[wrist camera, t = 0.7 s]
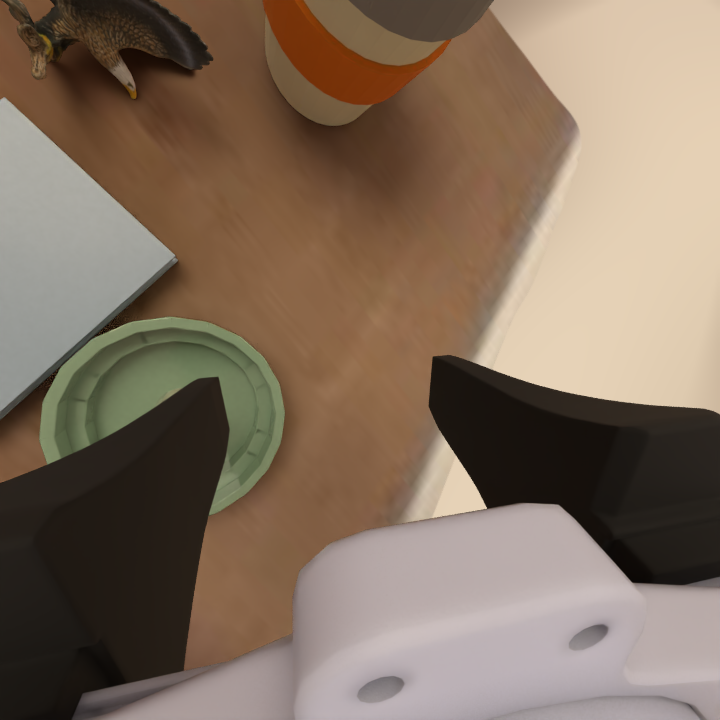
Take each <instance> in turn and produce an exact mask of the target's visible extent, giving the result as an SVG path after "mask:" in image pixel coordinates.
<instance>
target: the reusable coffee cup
mask: <svg viewBox="0 0 720 720" xmlns="http://www.w3.org/2000/svg"><path fill="white" fill-rule="evenodd" d="M493 1H494V0H263V4H264V10H265V12H266V20H265V53H266V58H267V63H268V67H269V70H270V73H271V75H272V78H273V80H274V82H275V84H276V86H277V87H278V89H279V91H280V92H281V94H282V95H283V96H284V98H285V99H286V100H287V102H288V103H289V104H290V105H291V106H292V107H293V108H294V109H295V110H297V111H298V112H299V113H301V114H302V115H303V116H305V117H306V118H308V119H310V120H312V121H314V122H316V123H319V124H323V125H327V126H340V125H344V124H348V123H350V122H352V121H354V120H355V119H357V118H358V117H359V116H360V115H361V114H362V113H364V112H365V111H366V110H367V109H368V108H369V107H370V106H372V105H373V104H376V103H380V102H382V101H384V100H386V99H388V98H390V97H392V96H393V95H394V94H395V93H397V92H398V91H399V90H400V89H401V88H403V87H404V86H405V85H406V84H407V83H409V82H410V81H411V80H412V79H413V78H415V77H416V76H417V75H418V74H419V73H421V72H422V71H423V70H424V69H425V68H427V67H428V66H429V65H430V64H431V63H432V62H434V61H435V60H436V59H437V58H438V57H439V56H440V55H441V54H442V53H443V52H444V50H445V49H446V47H447V46H448V44H449V42H450V41H451V39H452V38H454V37H456V36H458V35H460V34H463V33H465V32H466V31H467V30H469V29H470V28H471V27H472V26H473V25H474V24H475V23H476V22H477V21H478V20H479V19H480V18H481V17H482V15H483V14H484V13H485V11H486V10H487V9H488V7H489V6H490V5H491V3H492V2H493Z"/></svg>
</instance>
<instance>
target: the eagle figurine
mask: <svg viewBox="0 0 720 720" xmlns="http://www.w3.org/2000/svg"><path fill="white" fill-rule="evenodd" d="M2 1H3V2H5V3H6V4H7V5H9V11H10V13H11V15H12V16H13V17H14V18H15V19H16V20H18V21H19V23H20V24H21V25H18V26H17V31H18V34H19V36H20V37H21V39H22V40H23V41H24V42H25V43H26V44H27V46H28V48H29V51H30V56H31V60H32V65H33V67H32V68H31V73H32V76H33V77H34V78H35V79H37V80H40V79H43V78H46V65H47V64H48V63H49V62H50V61H52V62H58V61H59V60H60V58H61V56H62V53H63V51H64V50H65V49H66V48H67V47H68V46H69V45H72V44H74V43H75V42H83V43H84V45H85V46H86V47H87V48H88V50H89V51H90V52H91V54H92V55H93V56H94V57H95V58H96V59H97V60H98V61H99V63H100V64H101V65H103V66H104V67H105V68H106V69H108V70H109V71H110V72H111V73H112V74H113V75H114V76H115V77H116V78H117V79H118V80H119V81H120V82H121V83H122V84H123V85H124V86H125V88H126V89H127V90H128V92H129V93H130V96H131V98H132V99H135V98H136V96H137V94H136V87H135V83H134V80H133V77H132V75H131V73H130V71H129V70H128V68H127V66H126V65H125V63H124V62H123V60H122V58H121V56H120V54H119V53H118V51H119V50H121V49H124V48H136V49H139V50H142V51H145V52H147V53H149V54H151V55H154V56H156V57H160V58H169V59H172V60H173V61H175V62H177V63H178V64H180V65H181V66H183V67H185V68H187V69H189V70H192V69H198V70H201V69H202V68H203V67H202V65H209V61H213V57H212V55H211V54H210V53H209V52H207V51H206V50H207V49H208V46H207V45H206V44H205V43H204V42H203V41H202V40H201V38H200V36H199V35H198V34H197V33H195V32H193V31H192V28H191V26H189V25H188V24H187V23H185V22H183V21H181V20H180V18H179V17H178V16H177V15H174V14H173V13H171V12H170V10H169V9H167V8H165V7H163V6H161V4H160V3H159V2H156V1H153V0H51V2H52V3H53V4H54V5H55V7H53V8H52V9H51V11H50V12H49V13H48V14H47V16H44V17H43V18H42V19H41V20H40V21H37V22H35V25H34V23H33V21H32V19H31V17H30V15H29V13H28V11H27V9H26V7H25V5H24V4H23V3H22V2H21V1H18V0H2Z"/></svg>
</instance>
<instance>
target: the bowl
mask: <svg viewBox="0 0 720 720" xmlns="http://www.w3.org/2000/svg"><path fill="white" fill-rule="evenodd" d="M218 376H219V381H220V386H221V390H222V395H223V400H224V404H225V409H226V414H227V419H228V423H229V428H230V432H229V440H228V447H227V454H226V458H225V462H224V465H223V469H222V472H221V476H220V479H219V482H218V486H217V489H216V493H215V496H214V499H213V503H212V506H211V509H210V513H209V516H210V515H213V514H215V513H218V512H220V511H221V510H223V509H224V508H226V507H227V506H229V505H230V504H232V503H233V502H235V501H236V500H238V499H239V498H241V497H242V496H244V495H245V494H246V493H248V492H249V491H250V489H251V488H252V487H253V486H254V485H255V484H256V483H257V482H258V480H259V479H260V478H261V477H262V476H263V475H264V474H265V472H266V471H267V470H268V469H269V467H270V465H271V462H272V460H273V458H274V456H275V454H276V452H277V450H278V448H279V446H280V443H281V439H282V432H283V425H284V418H285V409H284V404H283V399H282V393H281V388H280V385H279V382H278V380H277V379H276V377H275V375H274V373H273V372H272V370H271V368H270V366H269V365H268V363H267V361H266V359H264V357H263V356H262V355H261V354H260V353H259V352H257V351H256V350H255V349H254V348H253V347H252V346H251V345H250V344H249V343H247V342H246V341H245V340H244V339H243V338H242V337H240V336H239V335H237V334H235V333H233V332H231V331H229V330H227V329H225V328H222V327H220V326H218V325H216V324H214V323H212V322H208V321H204V320H197V319H190V318H183V317H163V318H155V319H148V320H141V321H133V322H129V323H127V324H125V325H122V326H120V327H118V328H116V329H113V330H111V331H109V332H107V333H104V334H102V335H100V336H98V337H95V338H93V339H92V340H90V341H89V342H88V343H87V344H86V345H85V346H84V347H83V348H81V349H80V350H79V351H78V352H77V353H76V354H75V355H74V356H73V357H71V358H70V359H69V360H68V361H67V362H66V363H65V364H64V365H62V367H61V368H60V370H59V372H58V374H57V375H56V377H55V379H54V381H53V383H52V385H51V387H50V389H49V390H48V392H47V394H46V396H45V398H44V400H43V403H42V413H41V423H40V434H39V439H40V440H39V441H40V444H41V447H42V450H43V453H44V456H45V459H46V462H47V465H48V464H50V463H52V462H54V461H56V460H59V459H61V458H63V457H65V456H68V455H70V454H72V453H74V452H77V451H79V450H81V449H83V448H85V447H87V446H89V445H91V444H93V443H95V442H97V441H99V440H101V439H103V438H105V437H107V436H108V435H110V434H112V433H114V432H116V431H117V430H119V429H121V428H123V427H124V426H126V425H128V424H129V423H131V422H132V421H134V420H136V419H137V418H139V417H140V416H142V415H143V414H145V413H147V412H148V411H150V410H151V409H153V408H154V406H155V404H156V403H157V401H158V400H159V398H160V397H161V396H162V395H163V394H165V393H166V392H168V391H170V390H173V389H178V388H183V387H185V386H186V385H188V384H189V383H191V382H192V381H194V380H196V379H198V378H207V377H218Z"/></svg>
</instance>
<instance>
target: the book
mask: <svg viewBox="0 0 720 720" xmlns="http://www.w3.org/2000/svg"><path fill="white" fill-rule="evenodd" d="M175 257H176V256H175V255H174V254H173V253H172V252H171V251H170V250H169V249H168V248H167V247H166V246H165V245H163V244H162V243H161V242H160V241H159V240H158V239H157V238H156V237H155V236H154V235H153V234H152V233H151V232H149V231H148V230H147V229H146V228H145V227H144V226H143V225H142V224H141V223H140V222H139V221H138V220H137V219H135V218H134V217H133V216H132V215H131V214H130V213H129V212H128V211H127V210H126V209H125V208H124V207H123V206H121V205H120V204H119V203H118V202H117V201H116V200H115V199H114V198H113V197H112V196H111V195H110V194H109V193H107V192H106V191H105V190H104V189H103V188H102V187H101V186H100V185H99V184H98V183H97V182H96V181H95V180H93V179H92V178H91V177H90V176H89V175H88V174H87V173H86V172H85V171H84V170H83V169H82V168H81V167H79V166H78V165H77V164H76V163H75V162H74V161H73V160H72V159H71V158H70V157H69V156H68V155H67V154H65V153H64V152H63V151H62V150H61V149H60V148H59V147H58V146H57V145H56V144H55V143H54V142H53V141H51V140H50V139H49V138H48V137H47V136H46V135H45V134H44V133H43V132H42V131H41V130H40V129H39V128H37V127H36V126H35V125H34V124H33V123H32V122H31V121H30V120H29V119H28V118H27V117H26V116H25V115H23V114H22V113H21V112H20V111H19V110H18V109H17V108H16V107H15V106H14V105H13V104H12V103H11V102H9V101H8V100H7V99H6V98H5V97H4V98H2V99H1V100H0V420H1V419H2V418H3V417H4V416H5V415H7V414H8V413H9V412H10V411H11V410H12V409H13V408H14V407H16V406H17V405H18V404H19V403H20V402H21V401H22V400H23V399H24V398H26V397H27V396H28V395H29V394H30V393H31V392H32V391H33V390H35V389H36V388H37V387H38V386H39V385H40V384H41V383H42V382H43V381H45V380H46V379H47V378H48V377H49V376H50V375H51V374H52V373H54V372H55V371H56V370H57V369H58V368H59V367H60V366H61V365H62V364H64V363H65V362H66V361H67V360H68V359H69V358H70V357H71V356H73V355H74V354H75V353H76V352H77V351H78V350H79V349H80V348H81V347H83V346H84V345H85V344H86V343H87V342H88V341H89V340H90V339H92V338H93V337H94V336H95V335H96V334H97V333H98V332H99V331H100V330H102V329H103V328H104V327H105V326H106V325H107V324H108V323H109V322H111V321H112V320H113V319H114V318H115V317H116V316H117V315H118V314H119V313H121V312H122V311H123V310H124V309H125V308H126V307H127V306H128V305H130V304H131V303H132V302H133V301H134V300H135V299H136V298H137V297H138V296H140V295H141V294H142V293H143V292H144V291H145V290H146V289H147V288H149V287H150V286H151V285H152V284H153V283H154V282H155V281H156V280H157V279H159V278H160V277H161V276H162V275H163V274H164V273H165V272H166V271H168V270H169V269H170V268H171V267H172V266H173V265H174V264H175V263H176V262H178V260H177V259H176V258H175Z"/></svg>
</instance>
